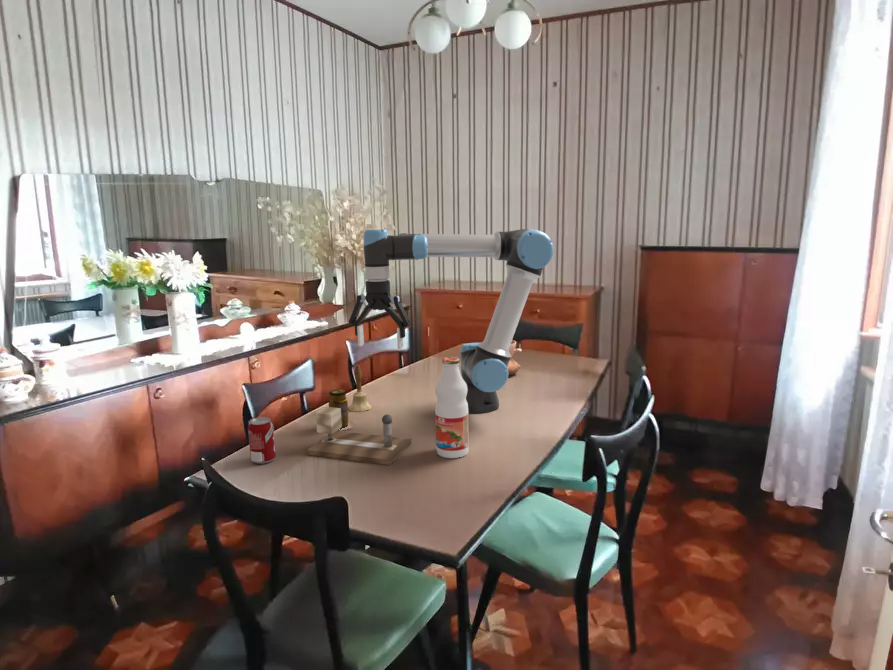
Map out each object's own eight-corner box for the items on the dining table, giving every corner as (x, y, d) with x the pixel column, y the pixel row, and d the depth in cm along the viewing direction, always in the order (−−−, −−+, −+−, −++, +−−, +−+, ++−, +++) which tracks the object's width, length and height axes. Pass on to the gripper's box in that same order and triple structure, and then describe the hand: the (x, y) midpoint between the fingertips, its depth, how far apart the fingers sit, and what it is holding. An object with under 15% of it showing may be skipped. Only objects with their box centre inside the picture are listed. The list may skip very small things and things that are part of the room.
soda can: (262, 467, 163) (258, 426, 160) (245, 462, 166) (242, 421, 164) (280, 458, 168) (277, 418, 166) (264, 453, 172) (261, 414, 169)
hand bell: (367, 412, 206) (365, 368, 203) (345, 411, 208) (342, 367, 204) (375, 405, 214) (373, 362, 211) (353, 404, 216) (351, 361, 212)
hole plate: (411, 443, 177) (410, 407, 175) (389, 465, 163) (388, 425, 160) (334, 435, 185) (332, 400, 183) (307, 454, 171) (304, 416, 168)
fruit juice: (475, 452, 170) (474, 358, 164) (452, 462, 164) (450, 364, 158) (453, 443, 177) (451, 352, 171) (429, 452, 170) (427, 358, 165)
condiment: (346, 421, 198) (344, 386, 195) (354, 429, 190) (352, 393, 188) (325, 424, 195) (323, 390, 192) (332, 433, 187) (329, 397, 185)
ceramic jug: (523, 370, 257) (523, 338, 254) (519, 379, 243) (519, 345, 240) (483, 369, 261) (482, 338, 258) (476, 378, 247) (476, 344, 245)
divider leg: (342, 435, 179) (340, 408, 177) (332, 443, 173) (330, 414, 171) (327, 434, 180) (326, 406, 178) (317, 441, 175) (315, 413, 173)
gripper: (419, 279, 182) (421, 346, 186) (347, 277, 190) (350, 342, 194) (410, 282, 175) (412, 351, 179) (335, 280, 183) (339, 347, 187)
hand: (380, 346), depth 187 cm, fingers open, 13 cm apart
